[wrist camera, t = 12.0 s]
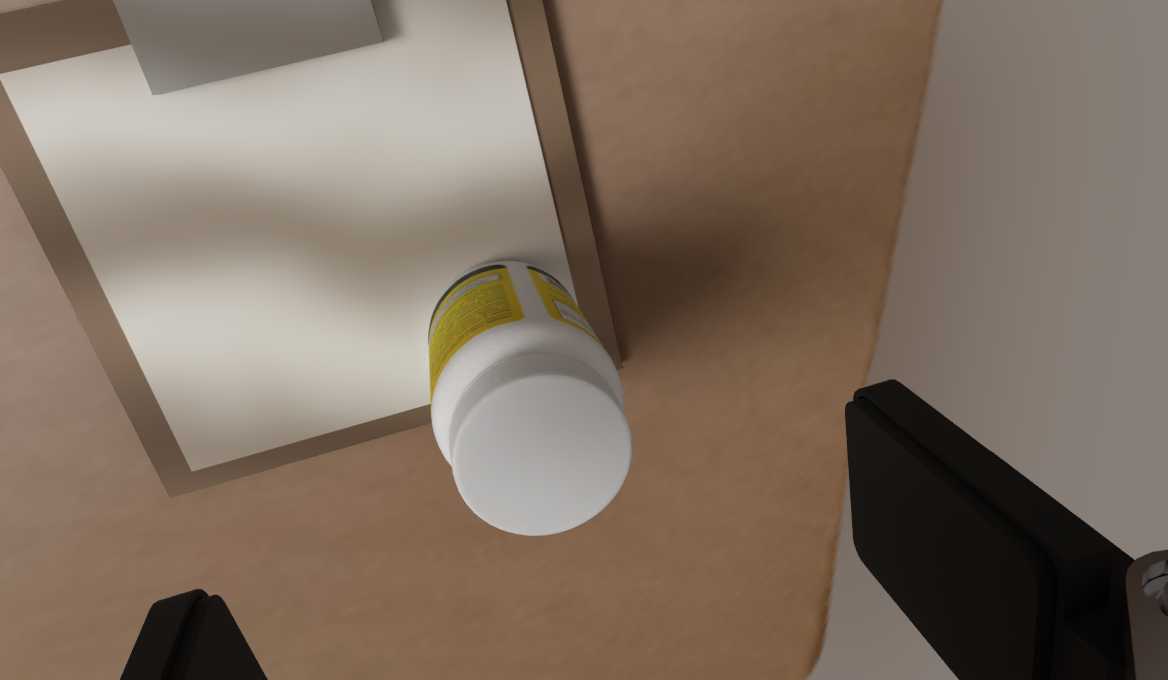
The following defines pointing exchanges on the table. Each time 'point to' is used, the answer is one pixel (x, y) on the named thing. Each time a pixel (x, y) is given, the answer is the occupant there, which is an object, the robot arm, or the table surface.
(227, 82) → the clipboard
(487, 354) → the supplement bottle
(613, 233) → the table surface
